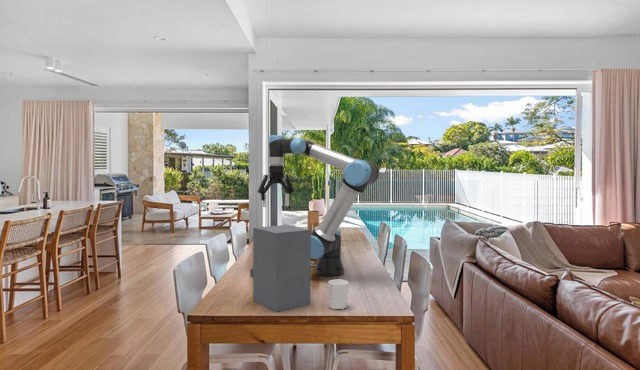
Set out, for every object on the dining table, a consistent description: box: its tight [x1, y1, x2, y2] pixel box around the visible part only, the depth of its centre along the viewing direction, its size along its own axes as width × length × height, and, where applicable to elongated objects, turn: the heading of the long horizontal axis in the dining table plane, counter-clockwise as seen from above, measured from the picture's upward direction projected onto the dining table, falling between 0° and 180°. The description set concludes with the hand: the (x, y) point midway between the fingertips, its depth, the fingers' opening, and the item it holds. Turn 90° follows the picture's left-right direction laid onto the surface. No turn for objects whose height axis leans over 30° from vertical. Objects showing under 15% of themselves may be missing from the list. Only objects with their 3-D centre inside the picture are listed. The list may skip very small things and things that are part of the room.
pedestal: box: [252, 224, 312, 313], centre depth 172 cm, size 18×16×30 cm
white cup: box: [327, 279, 349, 310], centre depth 167 cm, size 8×8×10 cm
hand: (276, 206), depth 221 cm, fingers open, 13 cm apart
